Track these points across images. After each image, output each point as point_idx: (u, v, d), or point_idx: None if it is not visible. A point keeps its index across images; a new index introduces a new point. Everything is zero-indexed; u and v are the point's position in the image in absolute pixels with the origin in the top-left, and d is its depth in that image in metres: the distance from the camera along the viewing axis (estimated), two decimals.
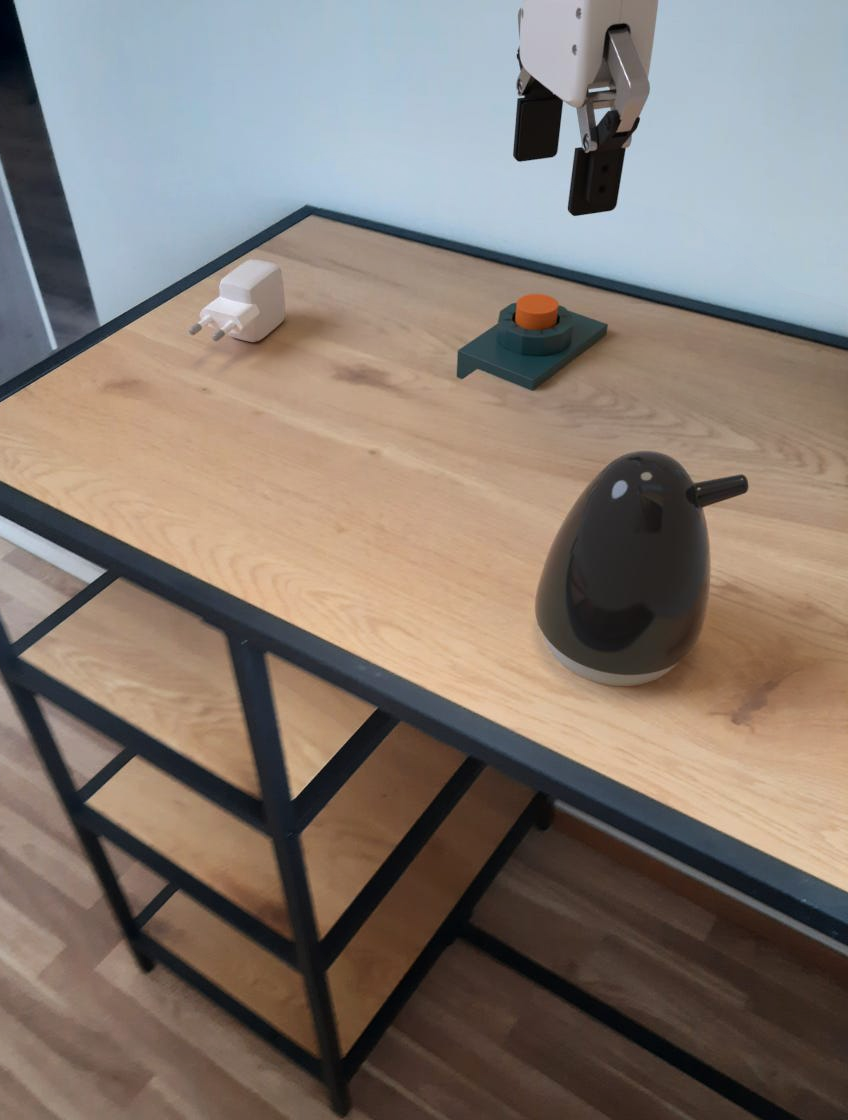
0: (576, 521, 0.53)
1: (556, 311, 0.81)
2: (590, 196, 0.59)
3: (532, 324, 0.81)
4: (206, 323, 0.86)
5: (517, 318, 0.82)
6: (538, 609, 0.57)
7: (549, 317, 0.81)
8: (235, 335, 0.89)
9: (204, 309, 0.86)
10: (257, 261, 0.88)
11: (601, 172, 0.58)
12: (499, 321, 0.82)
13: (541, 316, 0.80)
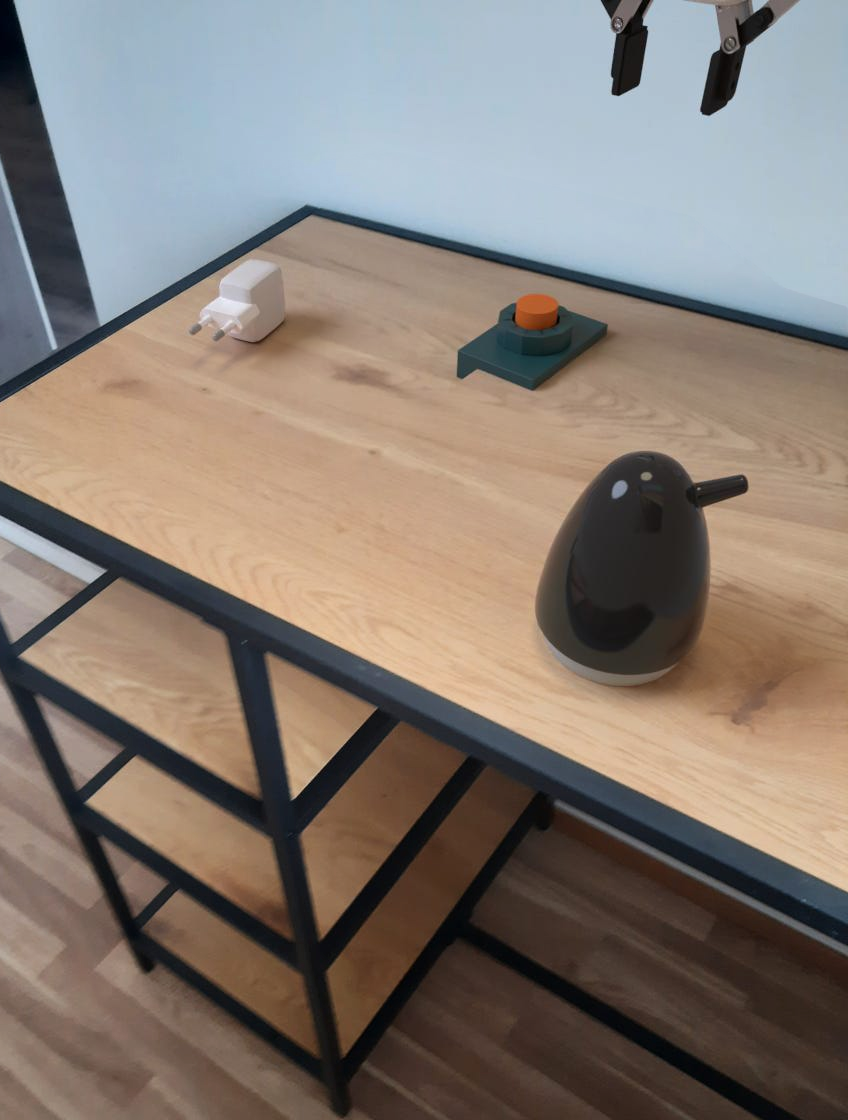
0: (576, 522, 0.53)
1: (556, 311, 0.81)
2: (726, 93, 0.66)
3: (532, 324, 0.81)
4: (206, 323, 0.86)
5: (517, 318, 0.82)
6: (538, 609, 0.57)
7: (549, 317, 0.81)
8: (235, 335, 0.89)
9: (204, 309, 0.86)
10: (257, 261, 0.88)
11: (734, 70, 0.66)
12: (499, 321, 0.82)
13: (541, 316, 0.80)
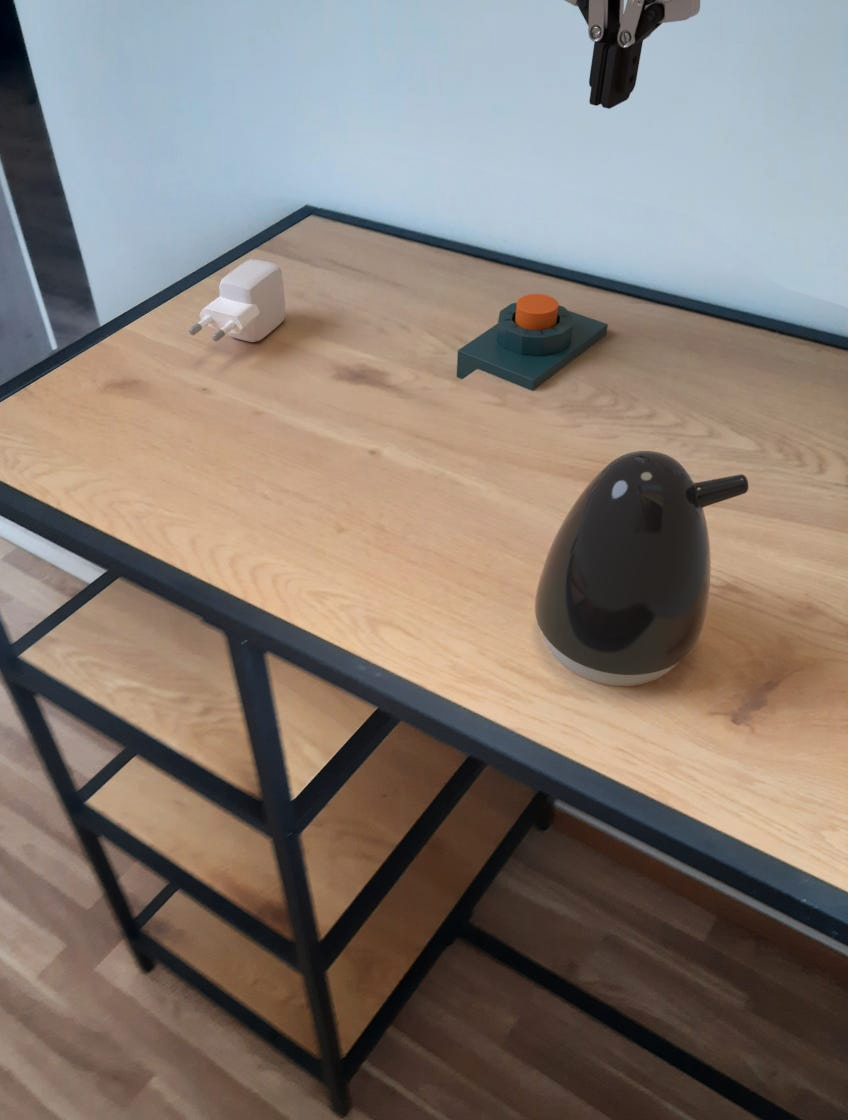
0: (576, 521, 0.53)
1: (556, 311, 0.81)
2: (625, 87, 0.68)
3: (532, 324, 0.81)
4: (206, 323, 0.86)
5: (517, 318, 0.82)
6: (538, 609, 0.57)
7: (549, 317, 0.81)
8: (235, 335, 0.89)
9: (204, 309, 0.86)
10: (257, 261, 0.88)
11: (632, 64, 0.67)
12: (499, 321, 0.82)
13: (541, 316, 0.80)
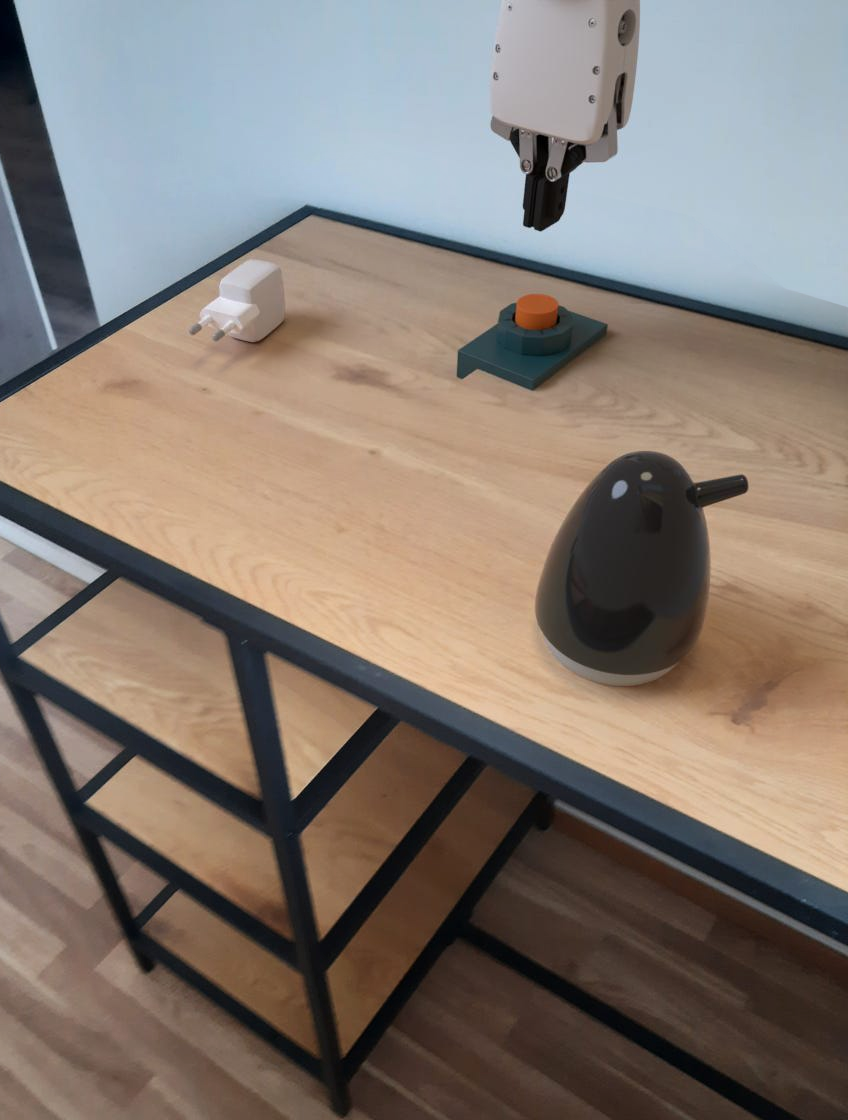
0: (576, 522, 0.53)
1: (556, 311, 0.81)
2: (554, 213, 0.74)
3: (532, 324, 0.81)
4: (206, 323, 0.86)
5: (517, 318, 0.82)
6: (538, 609, 0.57)
7: (549, 317, 0.81)
8: (235, 335, 0.89)
9: (204, 309, 0.86)
10: (257, 261, 0.88)
11: (560, 193, 0.73)
12: (499, 321, 0.82)
13: (541, 316, 0.80)
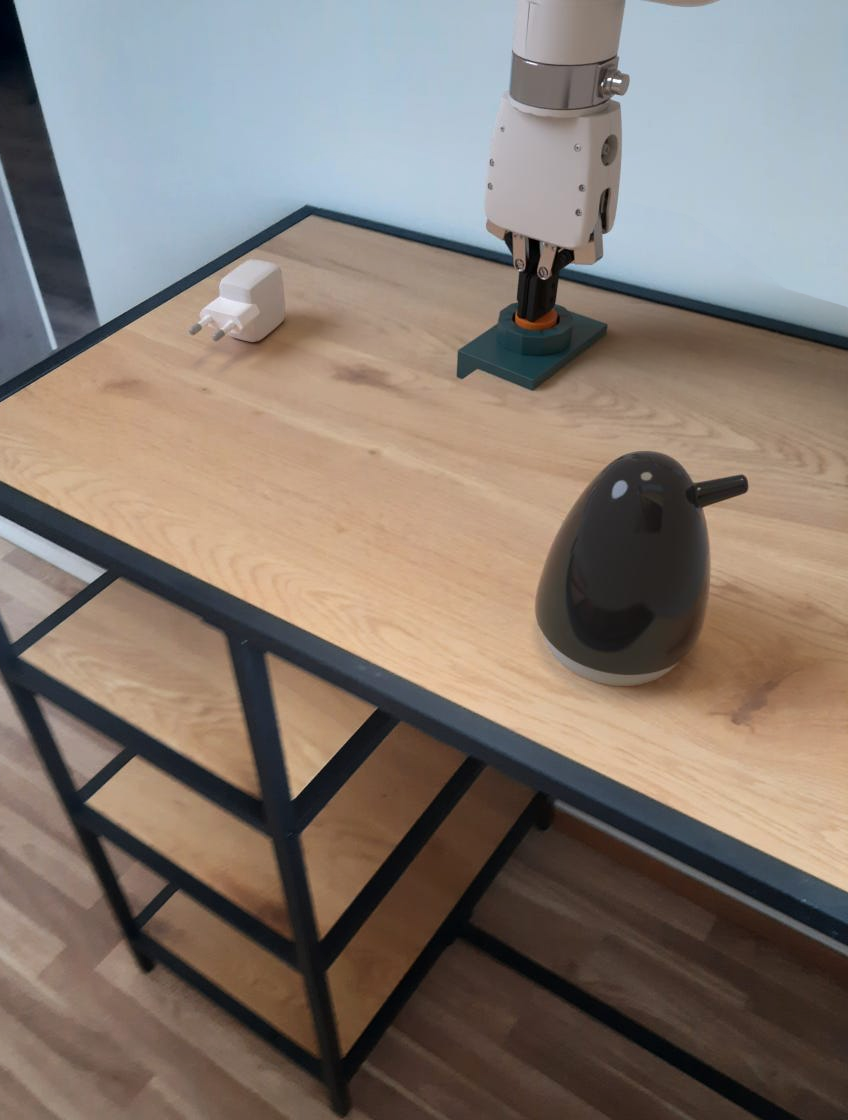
0: (576, 521, 0.53)
1: (555, 321, 0.82)
2: (546, 306, 0.80)
3: None
4: (206, 323, 0.86)
5: None
6: (538, 609, 0.57)
7: (548, 327, 0.81)
8: (235, 335, 0.89)
9: (204, 309, 0.86)
10: (257, 261, 0.88)
11: (551, 289, 0.79)
12: (499, 321, 0.82)
13: (540, 326, 0.81)
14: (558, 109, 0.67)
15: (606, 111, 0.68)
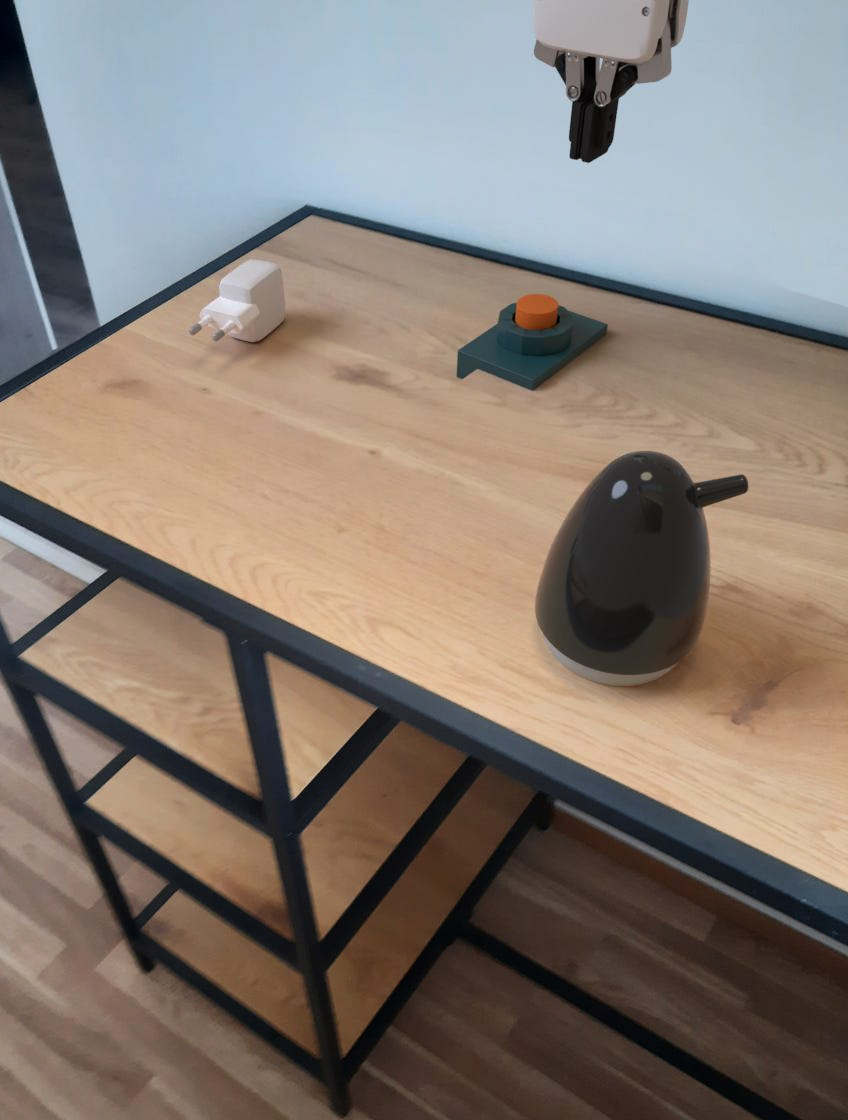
0: (576, 522, 0.53)
1: (556, 311, 0.81)
2: (603, 142, 0.71)
3: (532, 325, 0.81)
4: (206, 323, 0.86)
5: (517, 318, 0.82)
6: (538, 609, 0.57)
7: (549, 317, 0.81)
8: (235, 335, 0.89)
9: (204, 309, 0.86)
10: (257, 261, 0.88)
11: (609, 120, 0.70)
12: (499, 321, 0.82)
13: (541, 316, 0.80)
14: None
15: None
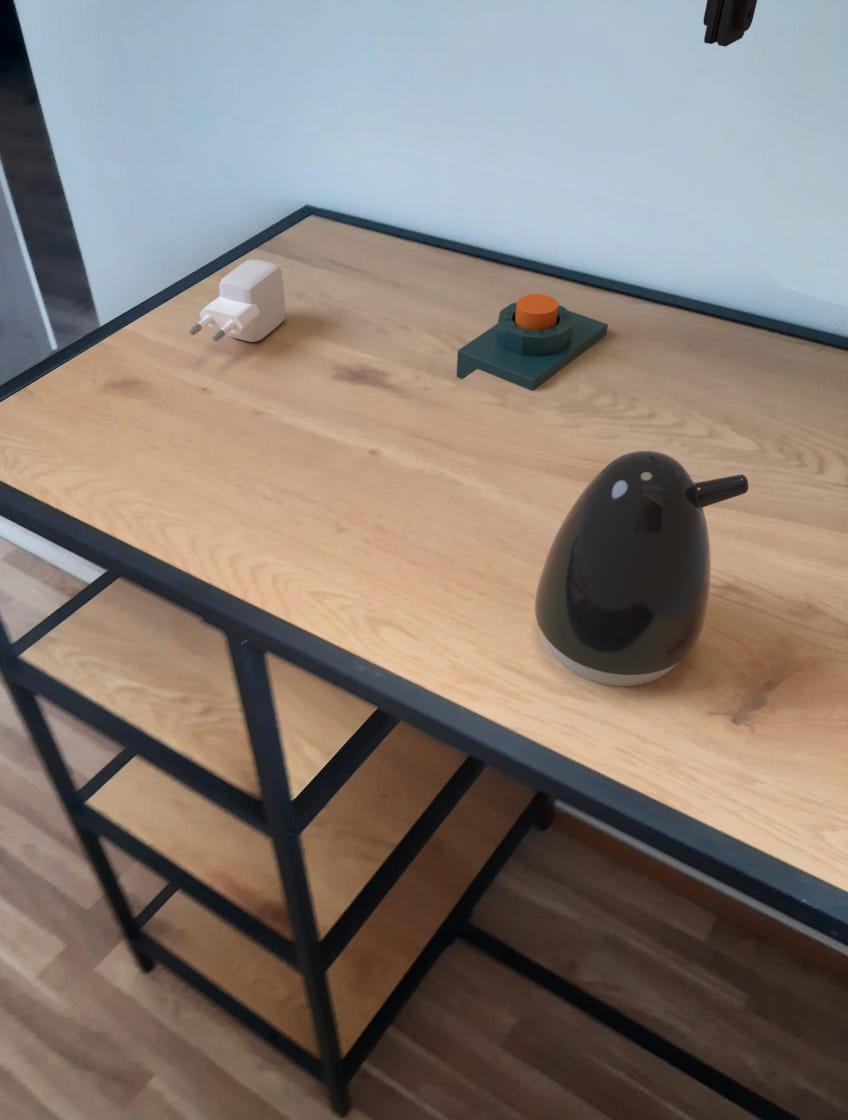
0: (576, 522, 0.53)
1: (556, 311, 0.81)
2: (743, 23, 0.66)
3: (532, 325, 0.81)
4: (206, 323, 0.86)
5: (517, 318, 0.82)
6: (538, 609, 0.57)
7: (549, 317, 0.81)
8: (235, 335, 0.89)
9: (204, 309, 0.86)
10: (257, 261, 0.88)
11: None
12: (499, 321, 0.82)
13: (541, 316, 0.80)
14: None
15: None
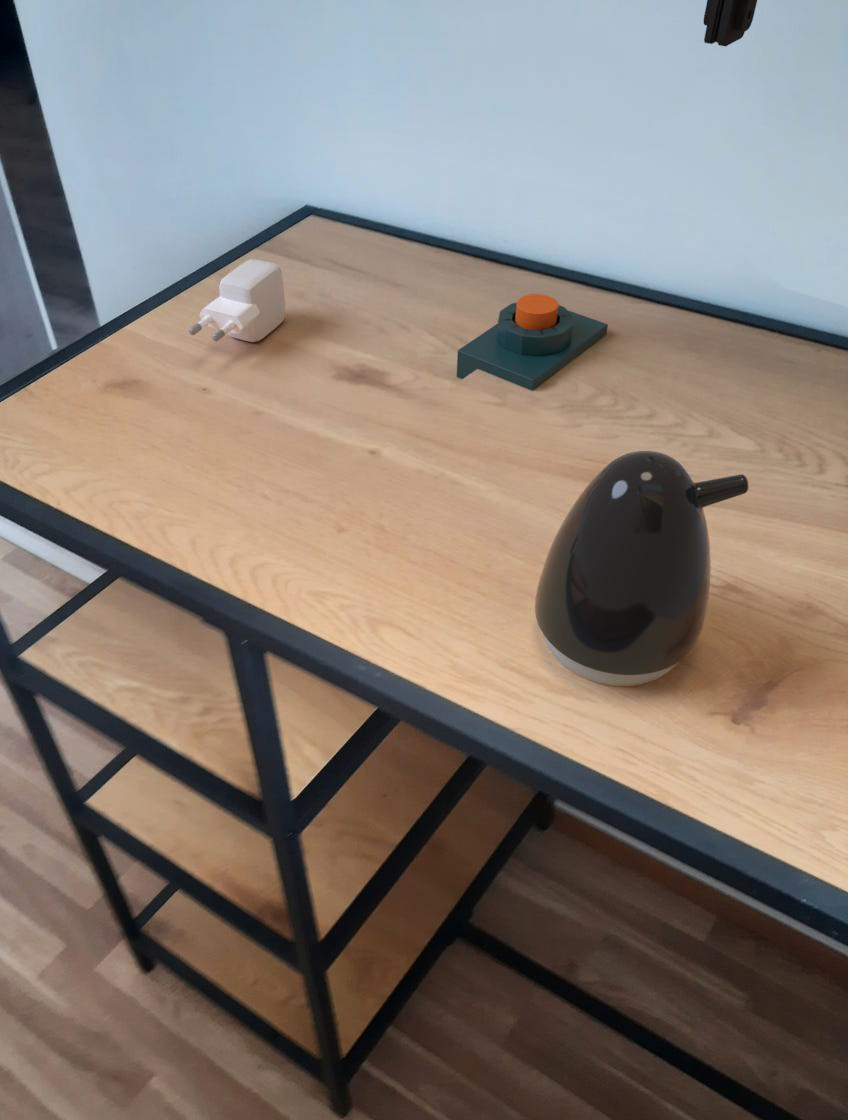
0: (576, 521, 0.53)
1: (556, 311, 0.81)
2: (743, 23, 0.66)
3: (532, 325, 0.81)
4: (206, 323, 0.86)
5: (517, 318, 0.82)
6: (538, 609, 0.57)
7: (549, 317, 0.81)
8: (235, 335, 0.89)
9: (204, 309, 0.86)
10: (257, 261, 0.88)
11: None
12: (499, 321, 0.82)
13: (541, 316, 0.80)
14: None
15: None
